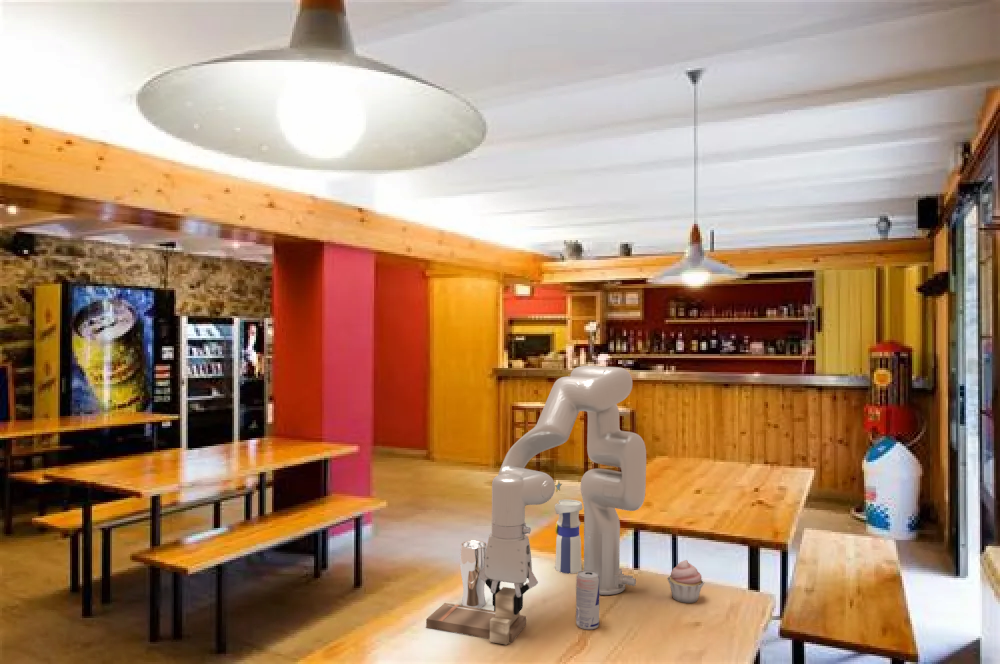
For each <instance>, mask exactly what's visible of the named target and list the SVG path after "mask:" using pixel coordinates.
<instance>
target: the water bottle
mask: <svg viewBox="0 0 1000 664" xmlns="http://www.w3.org/2000/svg"><path fill="white" fill-rule="evenodd" d="M562 485H563V483H560V480H558V481H557V484H555V492H556V493H557V492H558V491H561V486H562ZM557 502H558V503H555V504H554V510H555V514H556V515H558V519H557V520H556V523H555V527H554V530H555V531H554V532H555V534H556V540H555V541H556V542H555V544H556V545H555V566H554V567H555V568H554V569H555V570H556V572H558V571H559V572H558V573H561V572H562V574H569V573H570V574H572V575H573V574H577V572H579V571H583V565H582V540H581V539H582V537H581V535H580V526H581V524H582V522H581V521H580V518H579V516H580V511H582V510H584V506H583V502H582V501H580V500H575V499H559V500H558V501H557Z"/></svg>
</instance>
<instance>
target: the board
mask: <svg viewBox="0 0 1000 664" xmlns="http://www.w3.org/2000/svg"><path fill="white" fill-rule="evenodd" d="M492 617H493V618H499V617H495V611H494V610H492V609H485V608H474V607H467V606H463V605H462V604H461V605H460V604H457V603H456V604H454V603H450V602H449V603H448V602H444V603H443V604H442V605H440V606H439V607H438V608H437V609H436V610H435V611H433V612H432V613H431V614H430V615H429V616H427V618H425V619H426V620H425V621H426V625H425V627H426V628H427V629H432V630H439V631H444V632H450V633H454V632H457V633H456V634H460V633H463V634H462V635H465V634H468V635H467V636H471V635H473V636H472V637H478V638H484V639H489V640H490V620H491V618H492ZM526 626H527V615H522V614H520V615H519V616H518V618H517V619H516V620H515V621H514V622H513V624H512V625H511V626H510V627H509V643H513V642H514V641H515V640H516V638H517V637H518V636H519V634H520V633H521V632H522V631H523V629H524V628H525V627H526Z"/></svg>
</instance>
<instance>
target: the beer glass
mask: <svg viewBox="0 0 1000 664" xmlns="http://www.w3.org/2000/svg"><path fill="white" fill-rule="evenodd" d="M487 543H488V542H485V541H483V540H477V539H475V540H466V541H463V542H462V543H461V544H460V553H459V554H460V556H459V557H460V559H459V566H460V574H461V581H462V589H463V591H462V599H461V606H467V607H474V608H480V607H481V608H483V607H485V606H486V604H487V602H486V596H485V585H486V583H485V582H484V581H483V580H481V579H480V578H479V574H480V572H481V571H482V569H483V568H484V566H485V558H486V549H487ZM481 608H480V609H481Z"/></svg>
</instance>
